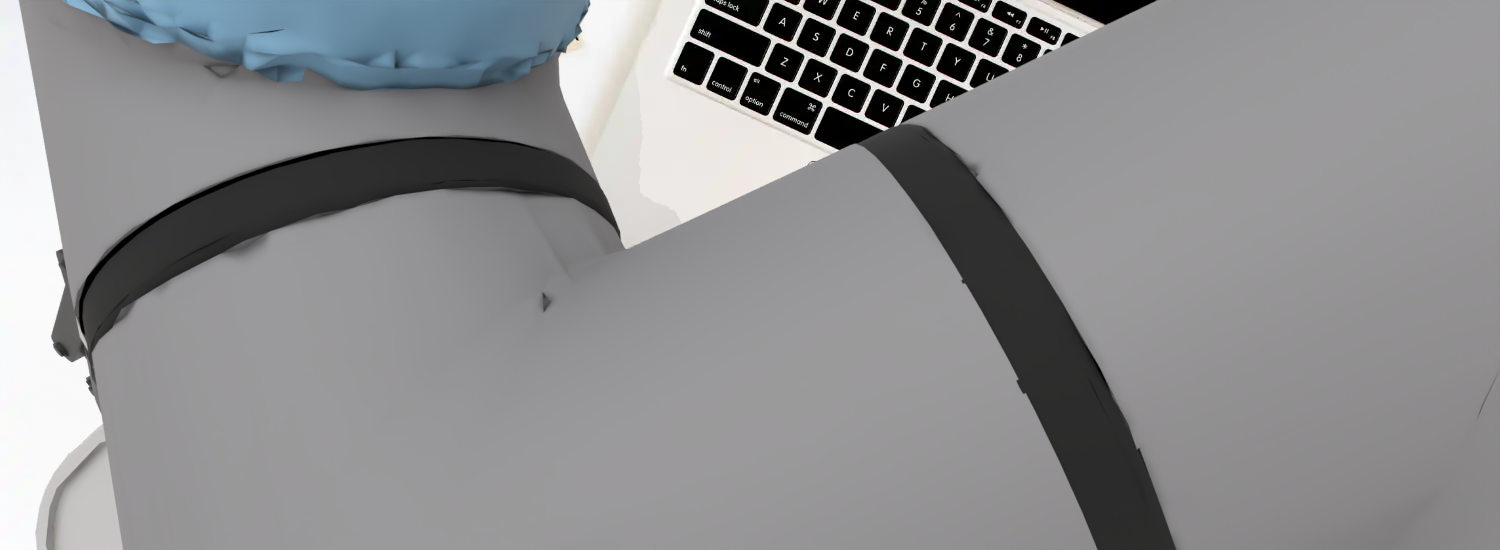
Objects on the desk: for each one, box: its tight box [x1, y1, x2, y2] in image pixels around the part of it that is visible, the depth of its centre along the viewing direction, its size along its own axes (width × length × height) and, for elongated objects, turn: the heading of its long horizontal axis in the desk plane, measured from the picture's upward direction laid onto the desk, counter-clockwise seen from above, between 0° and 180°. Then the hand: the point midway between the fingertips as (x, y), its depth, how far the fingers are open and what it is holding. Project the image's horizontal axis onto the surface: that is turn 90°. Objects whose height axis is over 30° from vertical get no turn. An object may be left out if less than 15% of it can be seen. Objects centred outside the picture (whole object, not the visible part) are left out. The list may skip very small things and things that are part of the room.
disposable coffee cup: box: [34, 424, 123, 550], centre depth 36 cm, size 10×10×12 cm
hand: (227, 531), depth 38 cm, fingers closed on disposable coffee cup, 9 cm apart
